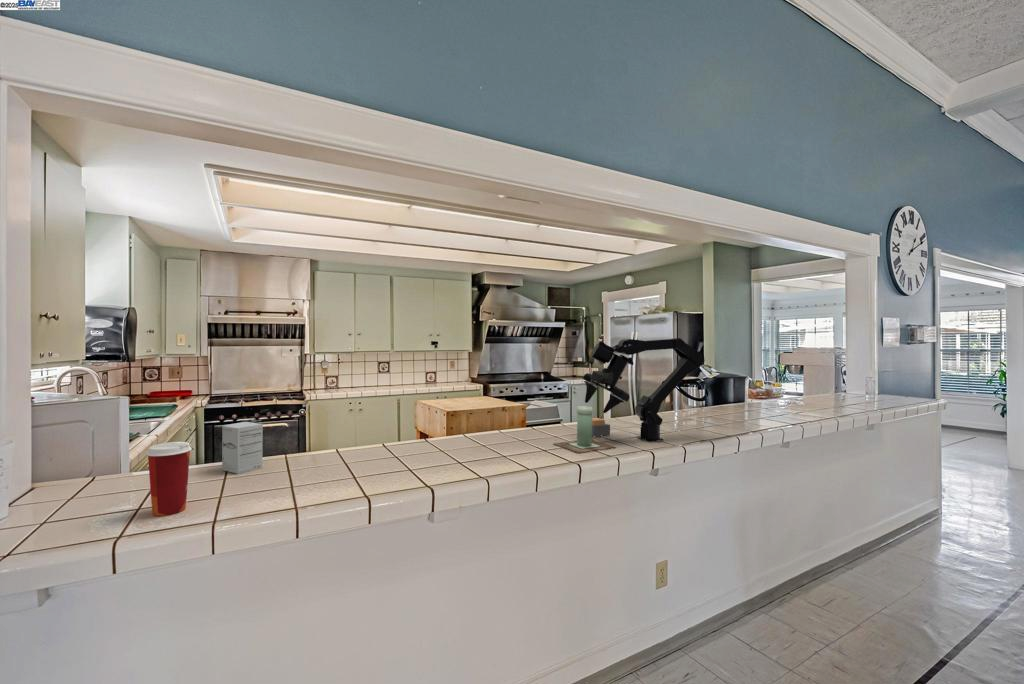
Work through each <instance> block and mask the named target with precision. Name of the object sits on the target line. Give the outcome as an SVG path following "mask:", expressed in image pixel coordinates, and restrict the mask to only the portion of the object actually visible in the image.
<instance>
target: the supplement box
mask: <svg viewBox="0 0 1024 684" xmlns="http://www.w3.org/2000/svg"><path fill="white" fill-rule="evenodd" d="M263 427H264V425H263V423H258V422H257V423H256V422H251V421H250V422H249V421H241V422H236V423H230V424H224V425H222V437H221V438H222V439H221V440H222V443H221V444H222V445H221V448H222V449H221V455H222V457H221V458H222V459H221V460H222V461H221V462H222V463H221V470H222V471H226V472H229V473H233V474H237V475H240V474H244V473H247V472H251V471H255V470H259V468H260V469H262V468H263V433H264V432H263V431H264V429H263Z"/></svg>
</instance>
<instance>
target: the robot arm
mask: <svg viewBox="0 0 1024 684" xmlns="http://www.w3.org/2000/svg"><path fill="white" fill-rule="evenodd" d="M660 350H673V351H674V352H675V353H676V354H677V356H679V360H678V362H677V365H676V368H674V369H673V371H672V372H671V373H669V375H668V376H667V377H666V379H664V380H663V382H662V383H661V384H660V385H659V386H658V387H657V388H656V389H655V391H653V393H652V394H651V395H649V396H646V395H642V396H641V398H640V399H639V400H638V401H636V405H635V407H634V412H635V415H636V416H638V417H639V421H641V424H640V436H638V437H637V439H639V440H642V441H645V440H646V441H645V442H649V441H654V442H658V441H657V440H661V441H664V439H663V438H661V436H660V435H661V433H660V432H661V431H660V430H661V426H662V423H663V420H664V419H663V418H662V417H661V416H660V415H659V414H658V413H659V411H660V410H661V406H662V404H663V402H664V401H665V400H666V399H667V398H668V396H670V394H671V393H672V392H673V391H674V389H676V387H678V385H679V384H680V383H682V381H683V380H684V379H685V378H686V377H687V376H688V375H689V374H691V373H693V372H695V371H697V370H698V369H699V368H700V367H702V365H704V364H705V356H704V353H703V352H701V351H698V350H696V349H695V348H693V347H692V346H691V345H690V344H688V343H686V341H684V340H683V339H682V338H681V337H672V338H667V339H666V338H665V339H650V340H642V339H641V340H639V339H633V338H631V339H630V338H623V339H620V340H619V341H618V343H617V344H615V345H614V346H610V345H608V344H607V343H605V342H604V341H601V340H599V341H598V342H597V343H596V345H595V346H594V347H593V348H592V350H591V351H590V358H592V359H594V360H595V361H598V362H600V363H602V364H603V365H605V364H606V363H608V365H607V366H606V367H604V368H603V369H602V370H592V373H591V374H590V373H585V374H584V375H583V377H582V380H584V381H583V382H584V383H585V387H586V389H585V390H586V392H585V398H584V403H585V404H587V403H588V402H590V400H591V399H592V397H593V396H594V395H595V393H596V391H597V390H598V387H600V388H602V389H604V390H605V391H608V392H610V393H609V400H608V401H607V403H606V404H605V406H604V409H603V411H602V413H603V414H607V413H608V412H609V411H610V410H612V409H613V408H614V407H615V406H619V404H621V403H624V402H626V403H628V401H629V400H630V394H629V393H628V392H626V391H624V390H623V389H621V388H619V387H618V386H617V384H618V383H619V380H622V379H623V376H622V375H623V372H624V371H625V369H626V367H627V365H631V366H633V365H634V361H633V358H632V355H635V354H640V353H643V352H646V351H660ZM616 353H617V354H616ZM618 354H619V355H618ZM625 355H628V356H630V357H627V356H625ZM611 393H612V394H611Z"/></svg>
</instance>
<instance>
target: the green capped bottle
mask: <svg viewBox="0 0 1024 684" xmlns="http://www.w3.org/2000/svg"><path fill="white" fill-rule="evenodd" d="M576 413H577V414H576V415H577V416H576V419H577V420H576V423H577V424H576V426H577V427H576V431H577V432H576V440H577V445H578V446H584V447H588V446H592V440H593V437H592V418H593V406H589V405H577V407H576Z"/></svg>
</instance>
